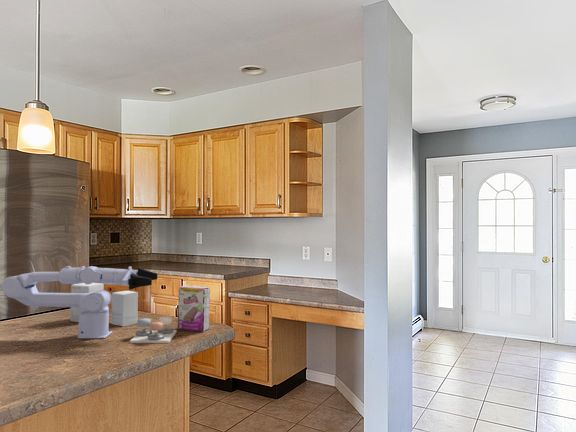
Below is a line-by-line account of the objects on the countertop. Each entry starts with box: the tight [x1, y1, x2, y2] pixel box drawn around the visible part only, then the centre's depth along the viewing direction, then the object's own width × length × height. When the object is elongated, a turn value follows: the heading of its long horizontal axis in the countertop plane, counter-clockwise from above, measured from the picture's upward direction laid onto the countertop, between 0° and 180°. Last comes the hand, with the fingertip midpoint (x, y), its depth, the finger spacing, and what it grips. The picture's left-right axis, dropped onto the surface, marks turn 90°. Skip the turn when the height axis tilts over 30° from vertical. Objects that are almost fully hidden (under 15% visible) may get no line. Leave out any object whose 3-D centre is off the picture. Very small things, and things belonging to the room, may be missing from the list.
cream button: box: [158, 316, 173, 326], centre depth 157 cm, size 5×5×2 cm
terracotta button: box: [148, 321, 164, 331], centre depth 148 cm, size 5×5×2 cm
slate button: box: [136, 317, 152, 328], centre depth 153 cm, size 5×5×2 cm
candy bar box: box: [177, 284, 211, 332], centre depth 164 cm, size 11×5×16 cm, turn 74°
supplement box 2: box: [110, 290, 139, 327], centre depth 171 cm, size 7×7×13 cm
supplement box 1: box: [69, 282, 105, 323], centre depth 176 cm, size 9×9×15 cm
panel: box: [129, 326, 178, 344], centre depth 152 cm, size 13×14×3 cm
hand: (154, 279), depth 154 cm, fingers open, 7 cm apart
